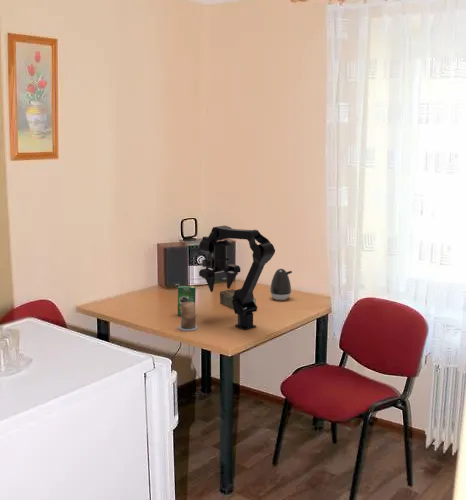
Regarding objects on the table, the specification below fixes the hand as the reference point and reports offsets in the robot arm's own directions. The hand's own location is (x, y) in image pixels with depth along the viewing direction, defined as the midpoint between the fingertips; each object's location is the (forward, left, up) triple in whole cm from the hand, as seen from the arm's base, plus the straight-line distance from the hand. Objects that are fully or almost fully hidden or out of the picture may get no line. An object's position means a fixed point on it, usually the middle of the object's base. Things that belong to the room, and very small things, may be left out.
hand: (220, 290), depth 270 cm
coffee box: (+14, +8, -13) cm, 21 cm away
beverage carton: (+10, -18, -14) cm, 24 cm away
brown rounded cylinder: (-2, +18, -12) cm, 22 cm away
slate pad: (-2, +18, -13) cm, 22 cm away
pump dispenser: (+7, -43, -13) cm, 46 cm away
